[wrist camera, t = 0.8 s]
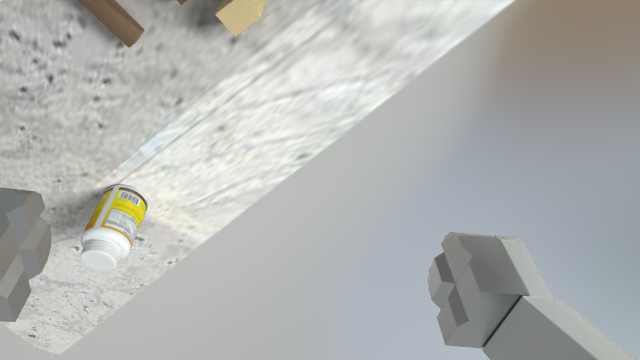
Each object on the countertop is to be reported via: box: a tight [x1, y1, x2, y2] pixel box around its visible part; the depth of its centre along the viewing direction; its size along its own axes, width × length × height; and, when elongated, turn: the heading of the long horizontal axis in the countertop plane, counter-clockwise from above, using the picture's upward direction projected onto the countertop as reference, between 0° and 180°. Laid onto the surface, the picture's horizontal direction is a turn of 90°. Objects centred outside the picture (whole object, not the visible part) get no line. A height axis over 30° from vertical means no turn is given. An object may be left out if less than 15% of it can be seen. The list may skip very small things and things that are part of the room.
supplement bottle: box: [80, 185, 148, 272], centre depth 56 cm, size 6×6×10 cm
